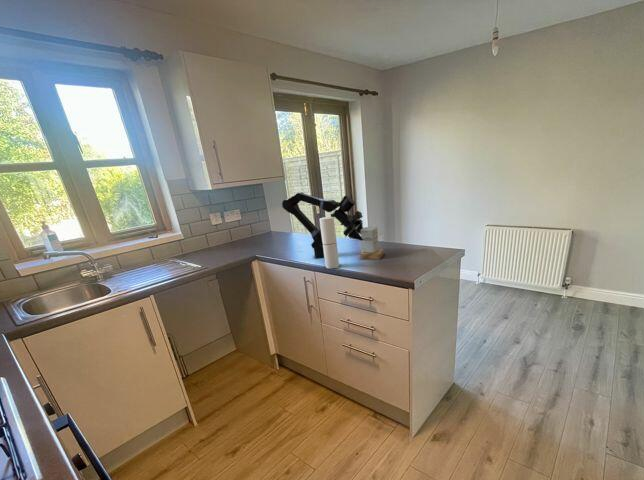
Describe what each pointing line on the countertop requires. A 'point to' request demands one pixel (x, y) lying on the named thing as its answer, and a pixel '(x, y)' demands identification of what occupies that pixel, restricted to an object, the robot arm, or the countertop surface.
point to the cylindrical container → (329, 242)
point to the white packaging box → (369, 239)
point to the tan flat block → (372, 254)
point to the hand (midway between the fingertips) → (364, 237)
